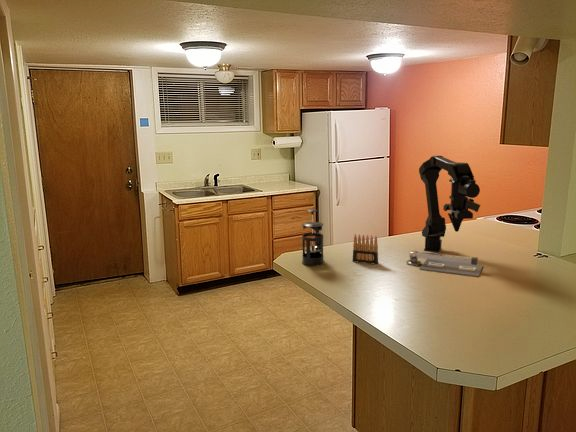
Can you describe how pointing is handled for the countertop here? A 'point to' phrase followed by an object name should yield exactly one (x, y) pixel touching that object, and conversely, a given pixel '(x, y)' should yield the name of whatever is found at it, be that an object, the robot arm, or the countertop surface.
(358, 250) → the ammunition clip
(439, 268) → the label board
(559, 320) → the countertop surface
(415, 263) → the pivot post
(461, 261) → the cable arm
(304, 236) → the french press
